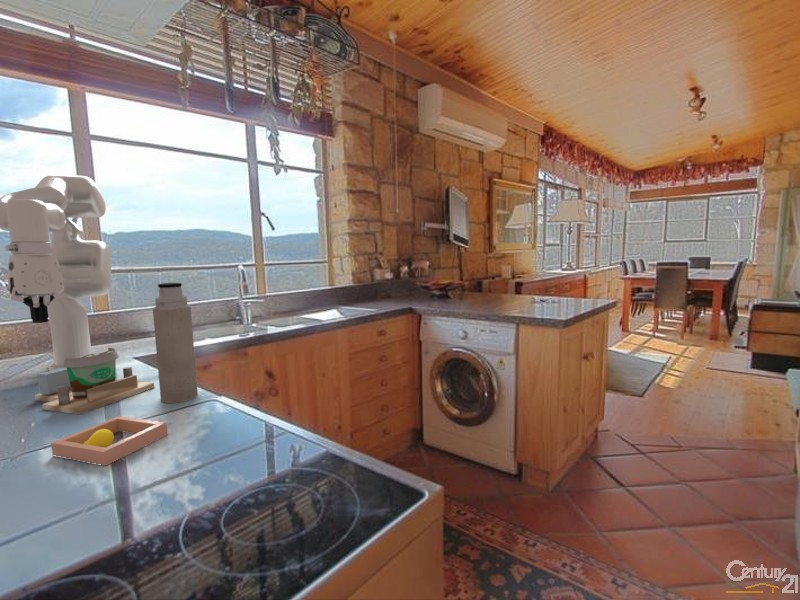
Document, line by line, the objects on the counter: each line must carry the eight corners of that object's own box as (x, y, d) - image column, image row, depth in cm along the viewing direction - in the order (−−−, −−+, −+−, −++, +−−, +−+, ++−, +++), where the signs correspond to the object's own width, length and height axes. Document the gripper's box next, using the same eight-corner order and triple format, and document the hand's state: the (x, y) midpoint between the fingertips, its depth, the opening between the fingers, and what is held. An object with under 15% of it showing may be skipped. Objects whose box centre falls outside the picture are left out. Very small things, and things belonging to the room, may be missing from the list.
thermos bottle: (182, 390, 107) (173, 281, 104) (205, 394, 104) (196, 281, 101) (153, 400, 100) (142, 284, 97) (176, 405, 97) (165, 284, 94)
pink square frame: (52, 456, 73) (51, 442, 73) (119, 427, 84) (118, 416, 84) (105, 466, 69) (103, 451, 69) (167, 434, 81) (166, 422, 80)
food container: (88, 402, 97) (83, 359, 95) (67, 400, 98) (62, 359, 97) (133, 385, 108) (129, 347, 107) (114, 384, 110) (110, 347, 109)
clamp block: (40, 393, 103) (37, 373, 102) (81, 381, 112) (79, 363, 112) (48, 394, 102) (46, 374, 101) (90, 382, 111) (88, 363, 111)
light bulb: (119, 445, 77) (113, 431, 75) (81, 465, 73) (74, 452, 71) (112, 435, 79) (106, 422, 77) (75, 455, 75) (68, 441, 73)
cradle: (16, 405, 99) (13, 384, 98) (96, 381, 117) (94, 363, 116) (80, 414, 92) (77, 391, 92) (154, 387, 110) (152, 368, 110)
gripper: (6, 249, 97) (15, 327, 99) (73, 249, 111) (81, 318, 113) (-15, 250, 99) (-5, 326, 101) (54, 250, 113) (61, 317, 115)
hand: (40, 322), depth 107 cm, fingers closed
